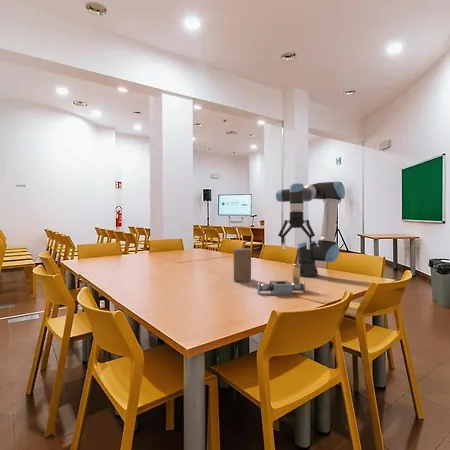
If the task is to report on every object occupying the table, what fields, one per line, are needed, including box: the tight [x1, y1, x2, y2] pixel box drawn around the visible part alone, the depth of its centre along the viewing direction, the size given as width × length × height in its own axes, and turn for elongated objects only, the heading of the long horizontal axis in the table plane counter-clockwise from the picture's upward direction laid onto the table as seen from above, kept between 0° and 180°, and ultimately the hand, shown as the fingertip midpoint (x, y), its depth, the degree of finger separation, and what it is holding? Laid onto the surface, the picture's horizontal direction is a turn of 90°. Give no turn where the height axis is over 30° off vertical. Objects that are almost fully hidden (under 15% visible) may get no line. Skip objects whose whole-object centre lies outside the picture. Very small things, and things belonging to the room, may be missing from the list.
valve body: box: [256, 280, 306, 297], centre depth 165 cm, size 25×10×6 cm, turn 93°
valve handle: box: [291, 262, 301, 284], centre depth 175 cm, size 5×5×14 cm
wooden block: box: [233, 247, 252, 283], centre depth 197 cm, size 10×10×20 cm
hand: (296, 249), depth 174 cm, fingers open, 13 cm apart
